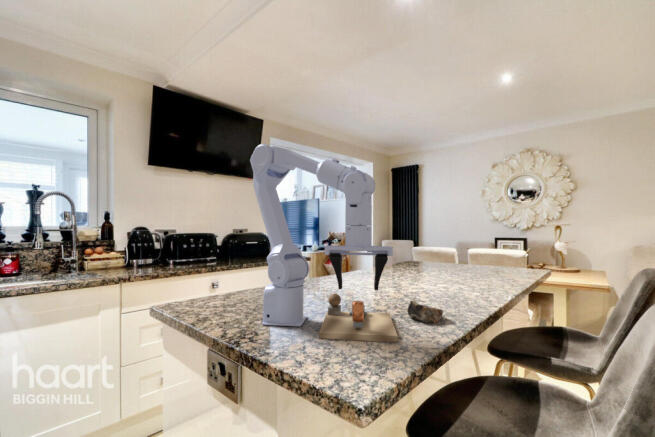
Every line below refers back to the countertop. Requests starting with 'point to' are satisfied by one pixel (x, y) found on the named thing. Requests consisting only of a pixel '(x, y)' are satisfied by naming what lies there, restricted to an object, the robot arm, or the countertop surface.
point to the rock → (424, 312)
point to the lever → (358, 313)
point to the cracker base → (342, 327)
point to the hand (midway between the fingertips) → (358, 288)
